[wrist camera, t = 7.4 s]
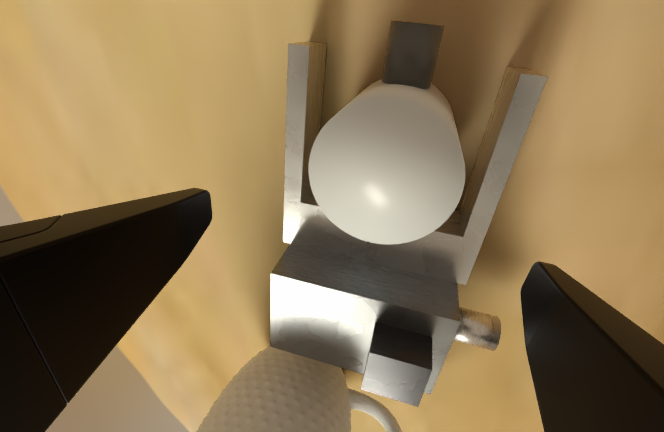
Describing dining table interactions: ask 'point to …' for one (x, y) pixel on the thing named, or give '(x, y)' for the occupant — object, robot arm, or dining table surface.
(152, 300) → the robot arm
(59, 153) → the dining table surface
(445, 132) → the light bulb
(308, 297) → the u-shaped channel
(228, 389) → the mug
